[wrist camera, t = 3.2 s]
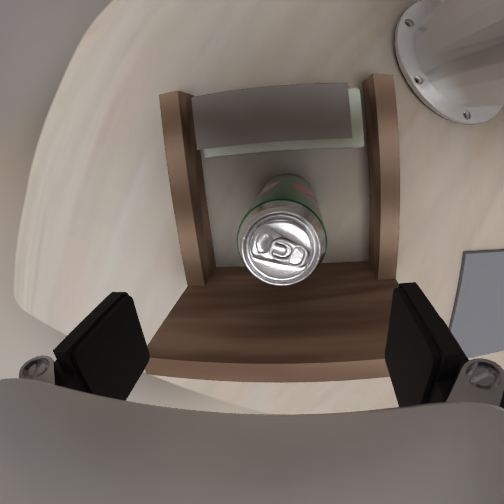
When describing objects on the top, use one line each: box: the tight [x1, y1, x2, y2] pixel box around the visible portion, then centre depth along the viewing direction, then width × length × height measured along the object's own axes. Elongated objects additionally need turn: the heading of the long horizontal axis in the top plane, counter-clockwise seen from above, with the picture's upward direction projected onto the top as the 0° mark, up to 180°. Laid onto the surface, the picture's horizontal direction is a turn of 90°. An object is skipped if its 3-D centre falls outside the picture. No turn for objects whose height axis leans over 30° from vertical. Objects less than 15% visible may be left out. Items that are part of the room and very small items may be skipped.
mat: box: [449, 249, 504, 358], centre depth 28 cm, size 14×14×1 cm
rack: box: [145, 74, 400, 382], centre depth 21 cm, size 18×18×14 cm
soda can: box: [237, 175, 327, 286], centre depth 22 cm, size 5×5×12 cm
